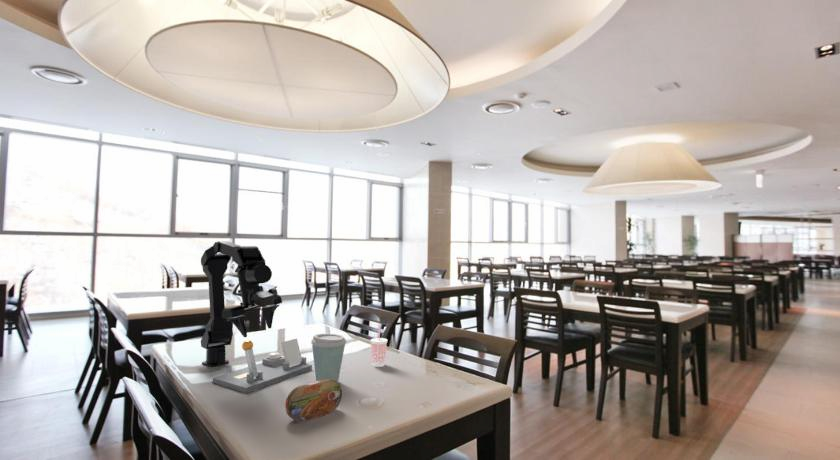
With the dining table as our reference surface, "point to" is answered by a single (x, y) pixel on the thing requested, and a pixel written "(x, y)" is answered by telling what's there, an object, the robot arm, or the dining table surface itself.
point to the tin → (313, 400)
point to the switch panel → (261, 374)
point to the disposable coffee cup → (328, 355)
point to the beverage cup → (378, 351)
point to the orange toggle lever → (250, 357)
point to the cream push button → (274, 356)
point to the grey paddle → (291, 351)
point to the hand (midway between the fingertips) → (258, 332)
